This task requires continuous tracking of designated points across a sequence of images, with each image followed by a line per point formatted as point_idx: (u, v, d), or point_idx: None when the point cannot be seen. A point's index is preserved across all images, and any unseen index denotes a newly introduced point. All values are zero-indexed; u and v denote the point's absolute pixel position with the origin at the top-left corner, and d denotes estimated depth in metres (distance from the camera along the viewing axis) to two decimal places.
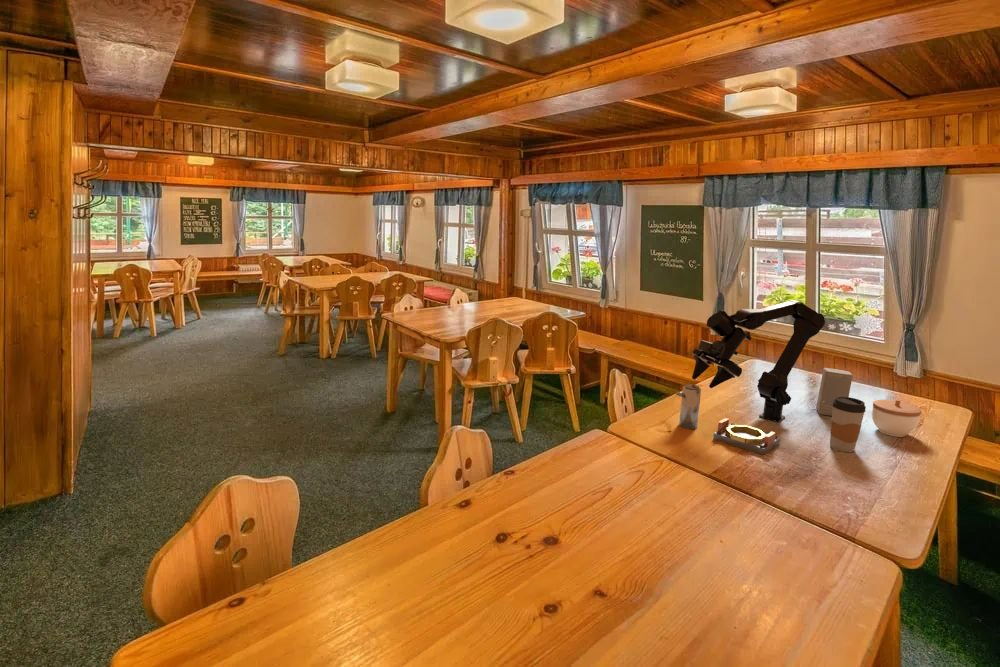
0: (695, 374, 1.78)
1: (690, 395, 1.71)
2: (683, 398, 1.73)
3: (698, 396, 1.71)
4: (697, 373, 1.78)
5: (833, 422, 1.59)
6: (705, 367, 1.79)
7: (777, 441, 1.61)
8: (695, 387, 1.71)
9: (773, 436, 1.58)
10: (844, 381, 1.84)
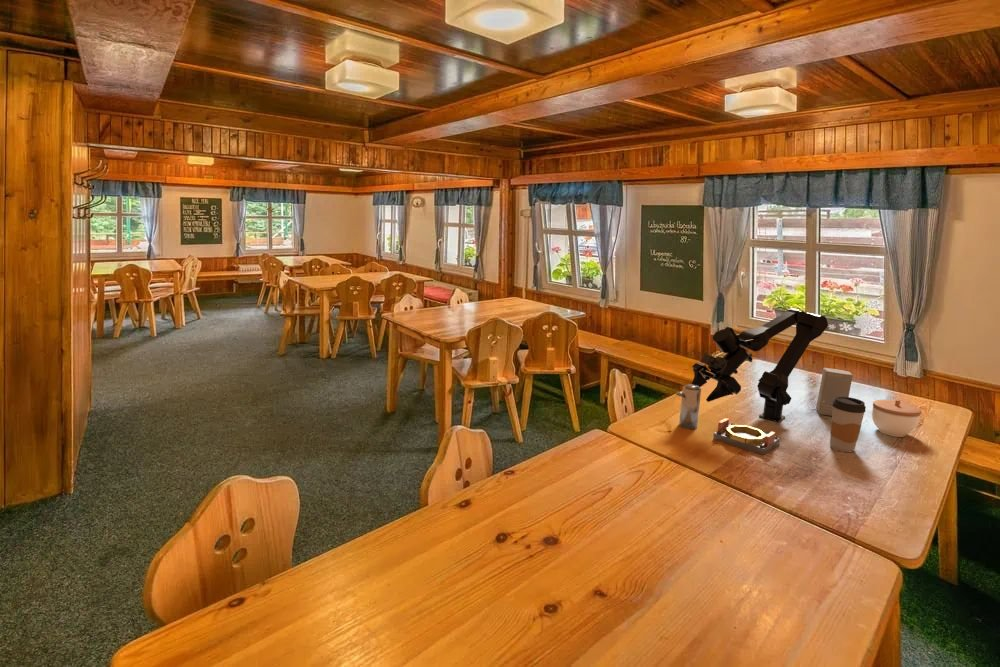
0: None
1: (690, 395, 1.71)
2: (683, 398, 1.73)
3: (698, 396, 1.71)
4: None
5: (833, 422, 1.59)
6: (703, 382, 1.79)
7: (777, 441, 1.61)
8: (695, 387, 1.71)
9: (773, 436, 1.58)
10: (844, 381, 1.84)
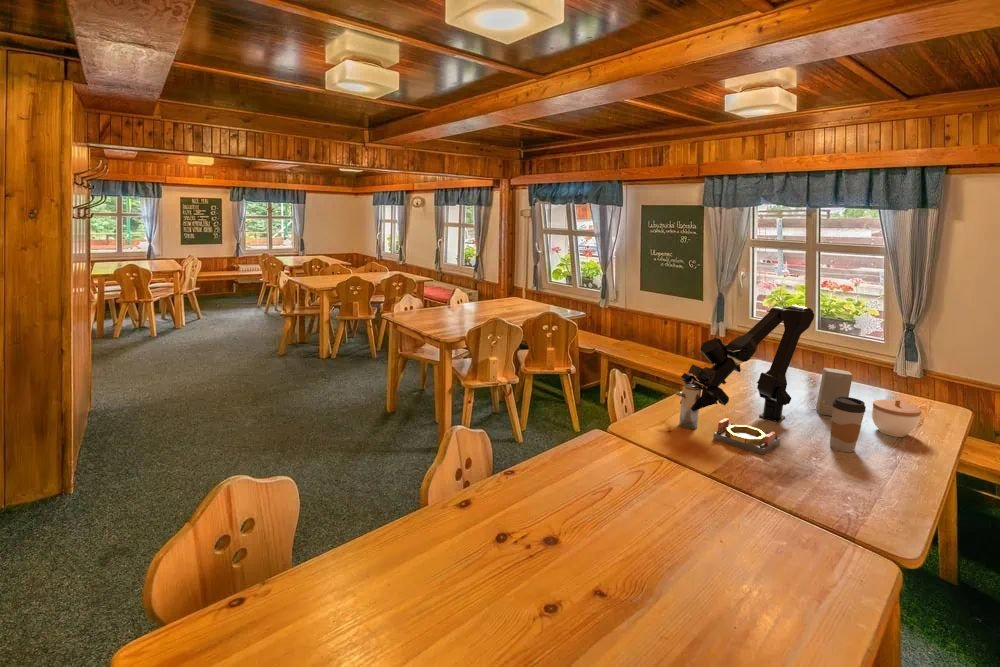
0: None
1: (690, 395, 1.71)
2: (683, 398, 1.73)
3: (698, 396, 1.71)
4: None
5: (833, 422, 1.59)
6: None
7: (777, 441, 1.61)
8: (695, 387, 1.71)
9: (773, 436, 1.58)
10: (844, 381, 1.84)
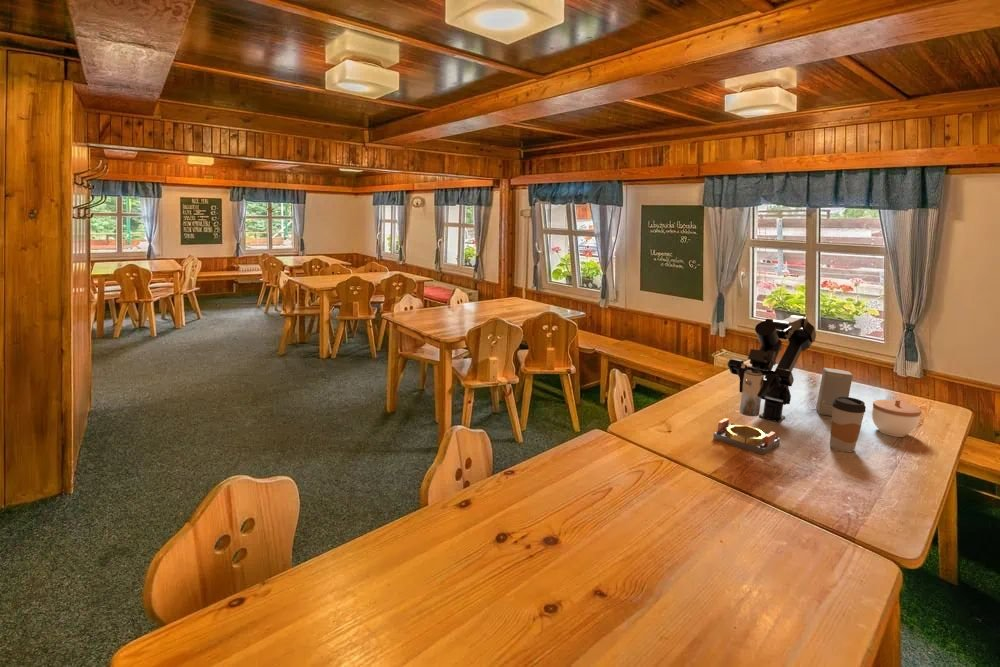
0: None
1: (758, 382, 1.63)
2: (748, 385, 1.65)
3: None
4: None
5: (833, 422, 1.59)
6: None
7: (777, 441, 1.61)
8: (758, 372, 1.65)
9: (773, 436, 1.58)
10: (844, 381, 1.84)
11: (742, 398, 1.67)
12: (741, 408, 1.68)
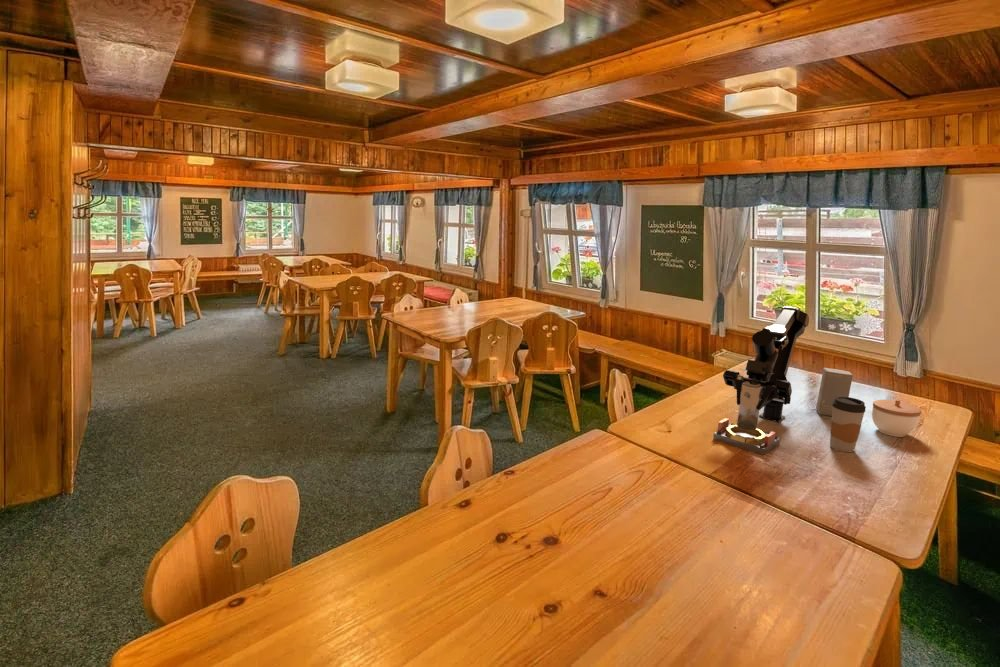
0: (739, 399, 1.62)
1: (757, 394, 1.57)
2: (747, 398, 1.58)
3: None
4: None
5: (833, 422, 1.59)
6: None
7: (777, 441, 1.61)
8: (757, 384, 1.59)
9: (773, 436, 1.58)
10: (844, 381, 1.84)
11: (740, 411, 1.61)
12: (739, 421, 1.61)
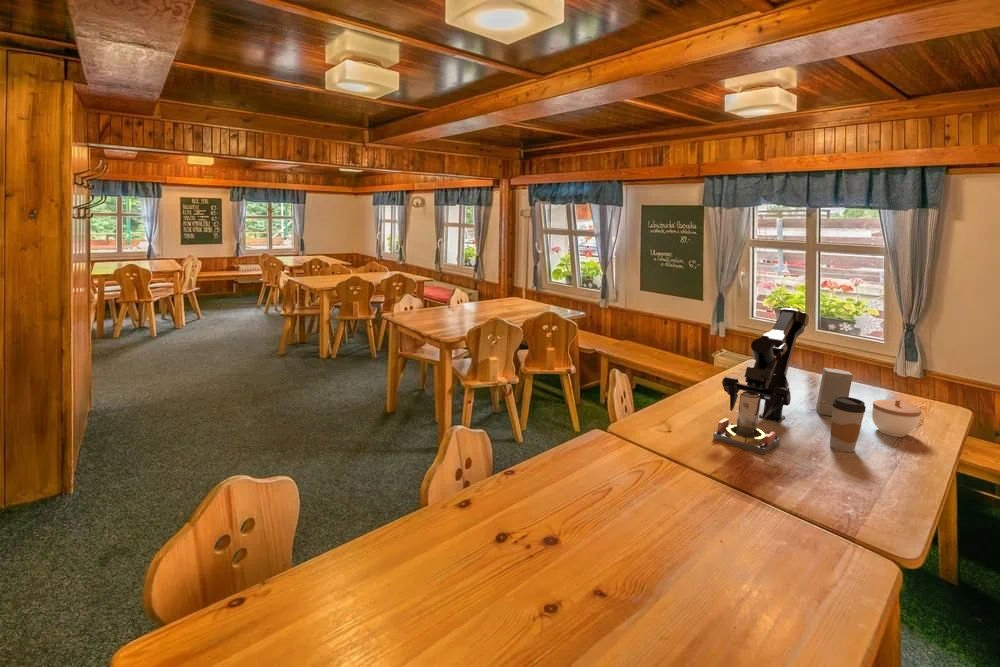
0: (733, 405, 1.63)
1: (755, 404, 1.58)
2: (746, 408, 1.59)
3: None
4: (733, 403, 1.64)
5: (833, 422, 1.59)
6: (736, 397, 1.67)
7: (777, 441, 1.61)
8: (755, 394, 1.59)
9: (773, 436, 1.58)
10: (844, 381, 1.84)
11: (739, 421, 1.61)
12: (737, 431, 1.62)
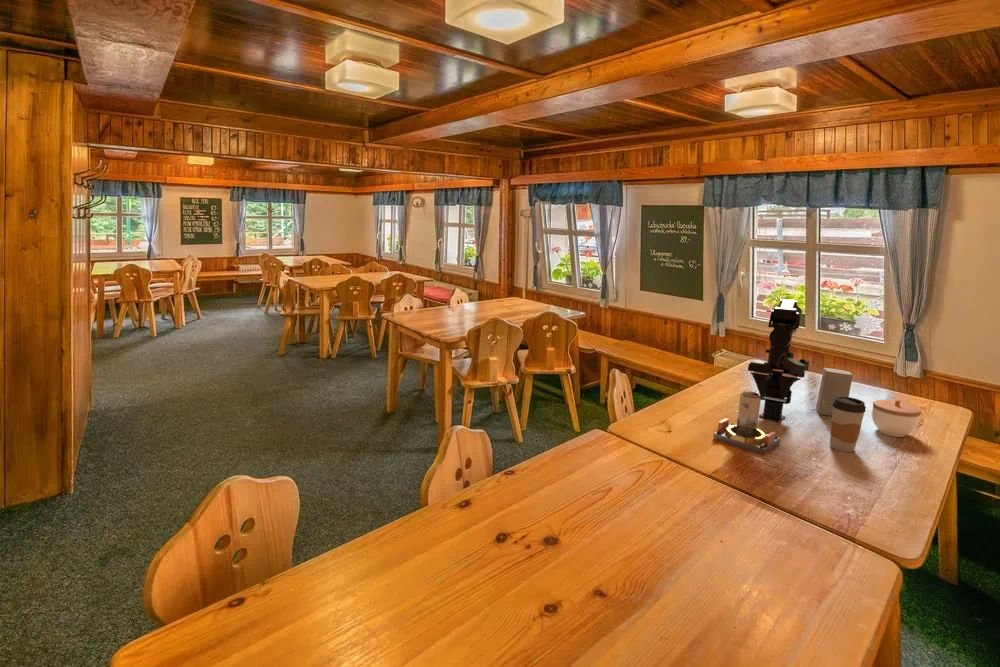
0: None
1: (755, 404, 1.58)
2: (746, 408, 1.59)
3: None
4: None
5: (833, 422, 1.59)
6: None
7: (777, 441, 1.61)
8: (755, 394, 1.59)
9: (773, 436, 1.58)
10: (844, 381, 1.84)
11: (738, 421, 1.61)
12: (737, 431, 1.62)
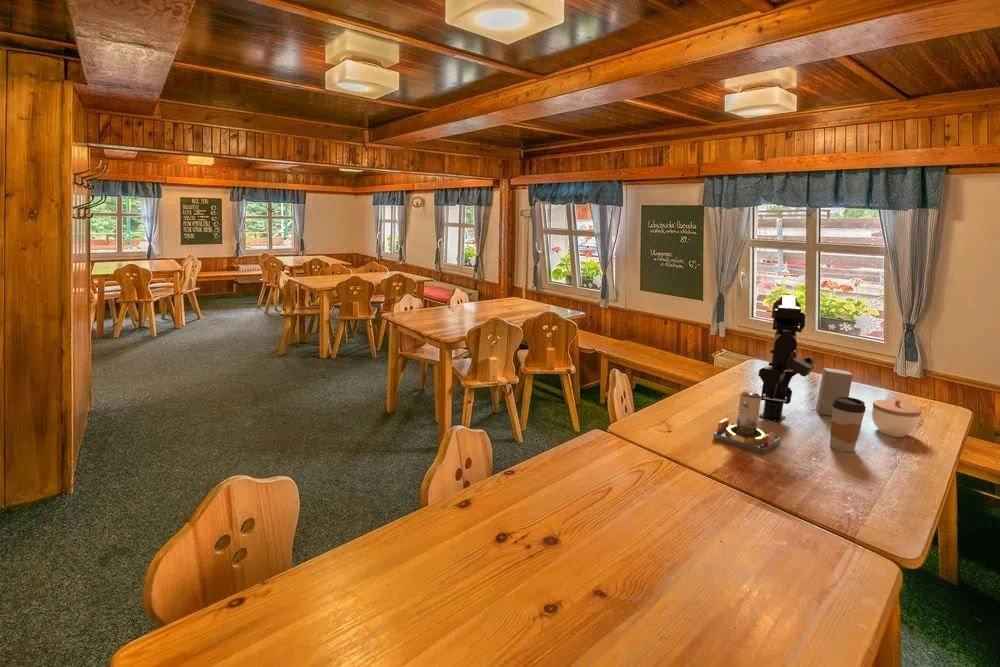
0: None
1: (755, 404, 1.58)
2: (746, 408, 1.59)
3: None
4: None
5: (833, 422, 1.59)
6: None
7: (777, 441, 1.61)
8: (755, 394, 1.59)
9: (773, 436, 1.58)
10: (844, 381, 1.84)
11: (738, 421, 1.61)
12: (737, 431, 1.62)
